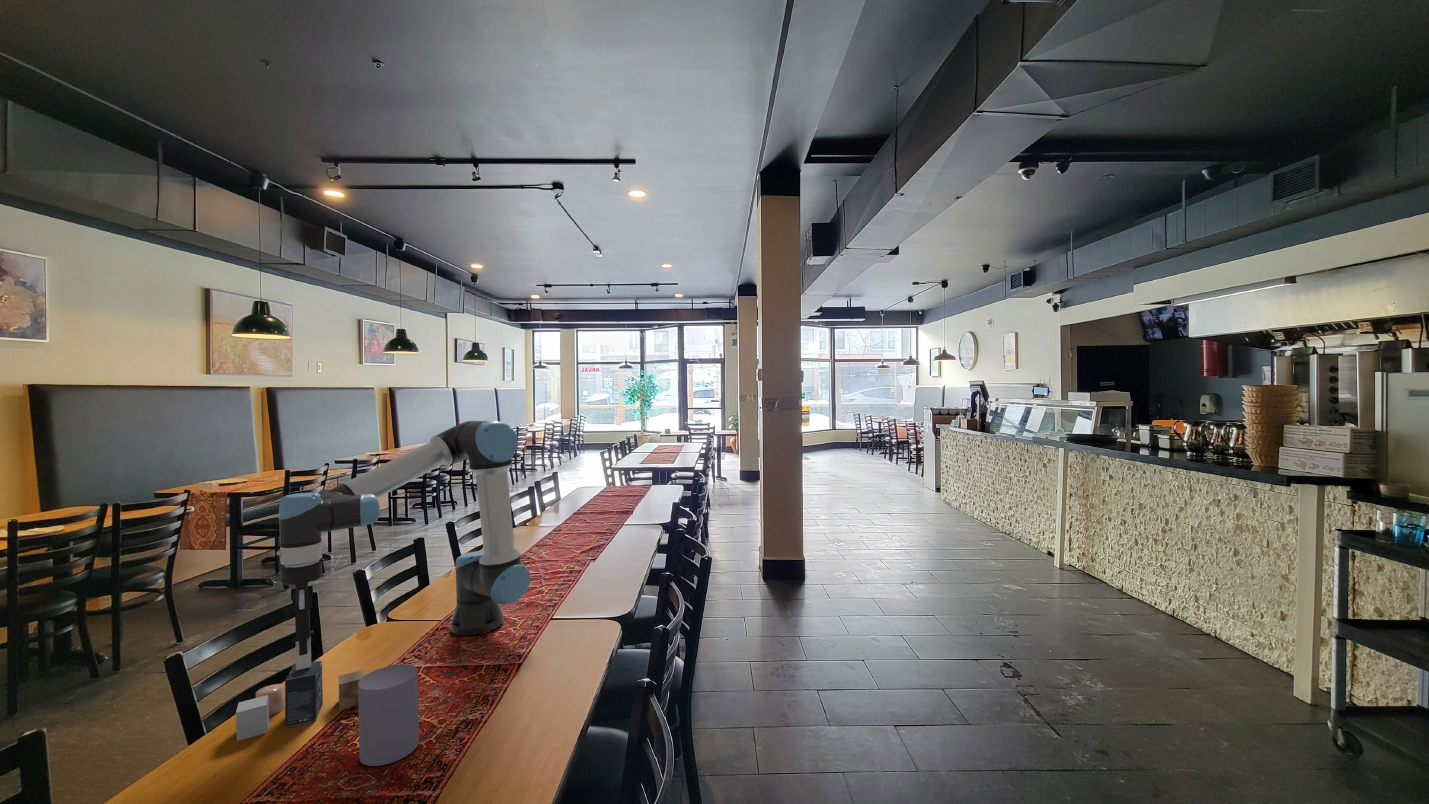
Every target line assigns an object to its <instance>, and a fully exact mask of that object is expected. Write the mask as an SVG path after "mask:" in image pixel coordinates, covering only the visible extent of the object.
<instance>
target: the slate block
mask: <svg viewBox="0 0 1429 804" xmlns="http://www.w3.org/2000/svg"><path fill="white" fill-rule="evenodd" d="M269 724H270V716H269V704H268V695H266V696H262V697H258V698H256V697H255V698H251V699H247V700H243V701H239V702H238V704H237V708H236V711H235V725H236V726H235V727H236V728H235V730H236V732H235V733H236V742H239V741H242V740H245V739H249V738H252V737H255V736H260V735H263V734H267V733H268V731H269Z"/></svg>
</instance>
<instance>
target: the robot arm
mask: <svg viewBox="0 0 1429 804" xmlns="http://www.w3.org/2000/svg"><path fill="white" fill-rule="evenodd" d="M518 441H519V439H518V436H517V434H516V432H515V430H514V429H513V428H512V427H511V426H510V425H509V424H507V423H505V422H502V421H499V420H498V421H497V420H468V421H464V422H461V423H459V424H457V425H455V426H452V427H450V428H448V429H446V430H444V431H442V432H440V433H438V434H437V435H433V436H432V437H431V438H430V441H429V442H427V443H425V444H423V445H421V446H419V447H417V448H416V447H415V449H413V450H411V451H409V452H406V453H404V454H402V455H400V456H398V457H396V458H394V459H392V460H390V461H388V462H386V463H383V464H381V465H379V466H377V467H374V468H373V469H371V470H369V471H367V472H365V473H362V474H360V475H359V476H356V477H354V478H352V479H350V480H348V481H346V482H344V483H342V484H339V485H337V486H335V487H333V488H331V489H324V490H319V491H316V492H299V493H293V494H287V495H285V496H283V497H282V498H281V499H280V500H279V505H278V506H279V507H278V509H279V510H278V517H277V518H278V523H279V524H278V525H279V528H278V529H279V542H280V543H279V547H280V550H277V551H276V556H280V565H282V566H281V567H280V570H279V572H280V574H279V575H280V576H279V577H280V583H281V584H282V585H285V586H290V585H294V587H295V588H294V587H293V588H291V590H290V600H291V601H292V611H293V612H294V617H295V619H294V620H295V621H294V622H295V637H293V638H292V639H291V643H295V665H296V670H299V669H303V668H308V667H311V662H312V645H311V643H312V640H311V639H312V638H311V635H314V634H315V632H314V630H311V625H310V623H311V621H310V609H312V605H313V602H312V601H313V600H312V599H313V598H312V597H313V595H314V585H312V584H311V585H309V583H310V582H314V581H317V580H318V579H320V578H321V577H322V576H323V561H321V559H322V558H323V542H322V541H323V540H322V539H323V538H322V534H323V533H328V532H334V531H339V530H346V529H350V528H351V529H352V528H357V527H364V526H367V525H368V526H369V525H373V524H375V523H376V522H377V521H378V519H379V516H380V514H381V506H380V502H379V498H381V497H382V496H385V495H386V494H389V493H391V492H392V491H394V490H396V489H398V488H401V487H402V486H404V485H406V484H407V483H409V482H412V481H413V480H415V479H418V478H420V477H422V476H424V475H425V474H427V473H429V472H431V471H433V470H436V469H437V468H439V467H441V466H450V465H452V464H454V463H456V462H459V461H465V460H468V466H469V470H470V471H471V472H472V473H474V474H475V476H476V477H475V479H476V489H477V497H478V506H479V507H478V508H479V515H480V517H479V518H480V528H481V529H480V530H481V538H482V547H483V548H482V549H481V550H477V551H470V552H467V553H464V554H462V555H460V556H458V557H457V558H456V560H455V566H454V567H455V568H454V569H455V592H456V593H455V594H456V606H455V609H454V612H453V616H452V618H451V621H450V632H451V634H453V635H455V636H460V635H461V636H462V635H465V636H464V637H467V636H466V635H472V636H476V635H475V634H479V635H482V634H481V633H484V632H487V633H489V632H488V631H490V632H492V631H491V630H493V629H495V628H497V627H499V626H500V625H501V624H502V623H504V613H503V611H502V608H501V606H500V605H501V604H503V605H510V604H514V603H516V602H517V601H519V600H521V598H522V597H523V596H524V595H525V593H526V592H527V591H528V589H529V587H530V583H531V582H530V581H531V573H530V570H529V569H528V568H527V566H525V565H524V564H522V557H521V552H520V551H519V550H517V549H516V547H515V539H514V529H513V519H512V518H513V517H512V507H511V496H510V488H509V487H510V485H509V476H508V470H509V469H510V467H511V466H512V465H513V461H512V458H513V457H514V456H515V453H516V452H517V449H518V445H519V442H518ZM502 625H503V624H502ZM502 625H501V626H502ZM501 626H500V627H501ZM500 627H499V628H500ZM497 629H498V628H497ZM495 630H496V629H495ZM493 631H494V630H493ZM484 634H485V633H484Z"/></svg>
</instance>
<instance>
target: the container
mask: <svg viewBox="0 0 1429 804" xmlns="http://www.w3.org/2000/svg"><path fill="white" fill-rule="evenodd" d="M364 675H365V674H364ZM418 675H419V674H418V668H417V667H416V665H412V664H407V663H405V664H403V663H402V664H393V665H389V666H384V667H381V668H378V669H375V670H373V671H371V672H368V673H367V674H366V675H365V676H364V677H362V678H361V679H360V681H359V682H358V701H359V705H358V742H359V761H360V763H361V764H363V765H365V766H369V767H381V766H386V765H389V764H392V763H396V762H398V761H400V760H402V759H404V758H406V757H407V756H409V755H410V754H411V753H413V752H414V751H415V750H416V748H417V747H418V746H419V743H420V729H419V728H420V726H419V723H420V722H419V720H420V719H419V684H418V683H419V680H418V679H419V677H418Z"/></svg>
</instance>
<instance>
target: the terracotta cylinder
mask: <svg viewBox="0 0 1429 804" xmlns="http://www.w3.org/2000/svg"><path fill="white" fill-rule="evenodd" d="M266 695H268V704H269V717H272V716H274V715H277V714H279V713H281V712H282V711H283V710H285V684H283V683H282V684H281V683H276V684H271V685H266V686H264V687H262V688H259V689H258V690H257V691H255V698H258V697H262V696H266Z"/></svg>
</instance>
